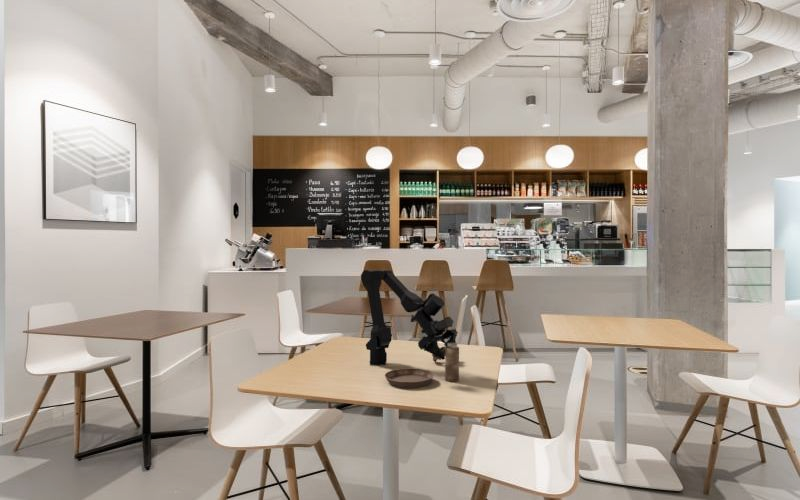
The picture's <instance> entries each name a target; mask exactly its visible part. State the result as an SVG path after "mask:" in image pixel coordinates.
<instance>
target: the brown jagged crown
mask: <svg viewBox="0 0 800 500" xmlns="http://www.w3.org/2000/svg"><path fill="white" fill-rule="evenodd" d="M445 347H446V346H445V345H444V346H441V347H439V348H440V350H441V351H442V353H443V354H444V356H445ZM431 357H432V361H434V363H437V361H438V360H440V361H441V360H442V359H441V358H439V357H437V356H435V355H433V354H431Z"/></svg>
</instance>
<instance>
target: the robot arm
mask: <svg viewBox="0 0 800 500" xmlns="http://www.w3.org/2000/svg"><path fill="white" fill-rule="evenodd" d="M360 278H361V279H360V280H361V283H362V286H363V288H364V289H365V290H366V291H367V296H368V302H369V307H370V308H369V309H370V315H371V321H372V328H371V331H370V339H369V340H368V341H367V342H366V343H365V347H366V348H365V349H366V350H367V351H369V366H386V363H387V357H388V356H387V351H386V349H388V348H389V346H390V343H391V342H392V337H393V334H392V328H391V326H387V324H386V322H385V317H384V311H383V305H382V299H381V292H380V289H381V286H382V281H383V282H384V283H385V284H386V285H387V287H388V288H390V289H391V290H392V292H393V293H394V294H395V295H396V296H397V298H399V301H400V305H401V307H402V308H403V310H404V311H405V312H406V313H414V314H411V319H410V323H415V322H416V323H417V324H418V325H419V327H420V328H421V331H420V332H421V334H423V336H422V338H421V339H420V340H419V341H417V346H418V347H419V349H420V350H423V351H425V352H428V353H429V354H431V355H432V354H433V355H435V356H437V357H439V358H441V360H443V361H445V356H444V354H443V353H442V351H441V350H440V348H441V347H439V345H438V342H439V341H440V342H442V343H444V344H443V345H444V346H446V347H447V343H457V342H456V339H457V337H458V334H459V333H458V331H457V330H456V328H452V327H453V325H454V320H453V319H452V317H450V316H446V317H444V318H443V319H441V320H438V319H437V320H435V319H434V318H433V317H436V316H437V314H439V312H441V310H442V309H443V308H444V307H445V305H446V304H445V301H444V299H442V298H441V297H440V296H437V295H436V294H435V293H430V294H429V295H428V297H427V298H426V299H425V300H424V299H423V298H422V297H420V296H419V295H418V294H417V293H415V292H412V291H410V290H409V289H408V288H407V287H406V286H405V285H404V283H402V282H401V281H400V279H399V278H398V277H397V276H396V275H395V274H394V273H393V271H392V270H391V269H381V270H378V269H365V270H363V271H362V273H360ZM450 327H451V328H450ZM448 328H449V329H448ZM446 329H447V330H446Z"/></svg>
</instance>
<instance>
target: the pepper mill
mask: <svg viewBox="0 0 800 500" xmlns="http://www.w3.org/2000/svg"><path fill="white" fill-rule="evenodd" d="M444 361H445V362H444V363H445V365H444V367H445V368H444V372H445V373H444V376H445V378H444V381H445V382H448V383H458V382H460V347H459V346H458V343H457V342H456V343H447V347H445V359H444Z"/></svg>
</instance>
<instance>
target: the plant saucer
mask: <svg viewBox="0 0 800 500" xmlns="http://www.w3.org/2000/svg"><path fill="white" fill-rule="evenodd" d="M384 378H385V379H386V381H388V383H389V384H390V385H391V386H394V387H396V388H405V389H407V388H408V389H411V388H412V389H413V388H414V389H415V388H420V387H424V386H425V387H426V385H428V384H429V383H430V382H431V381H432V380H433V379H434V373H433V372H431V371H429V370H427V369H422V368H407V367H406V368H397V369H392V370H389V371H387V372H386V373H385V374H384Z"/></svg>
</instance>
